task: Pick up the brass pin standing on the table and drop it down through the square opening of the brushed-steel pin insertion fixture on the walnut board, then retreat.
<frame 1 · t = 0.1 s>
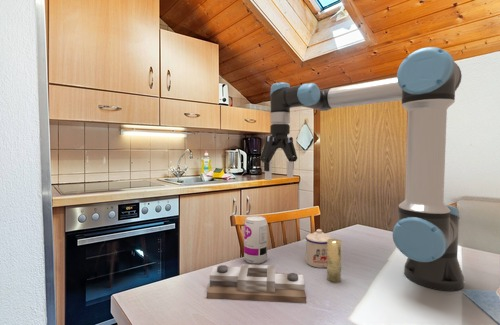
hand: (279, 178, 107), 28 cm above the table, fingers open, 13 cm apart
supplement can: (255, 260, 97), on the table
pin insertion fixture: (257, 287, 78), on the table
brass pin: (333, 279, 83), on the table
teacup with lid: (322, 262, 95), on the table
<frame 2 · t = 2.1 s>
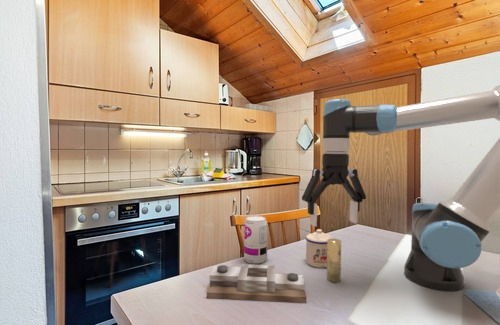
hand: (333, 223, 82), 17 cm above the table, fingers open, 13 cm apart
nothing on the table moved.
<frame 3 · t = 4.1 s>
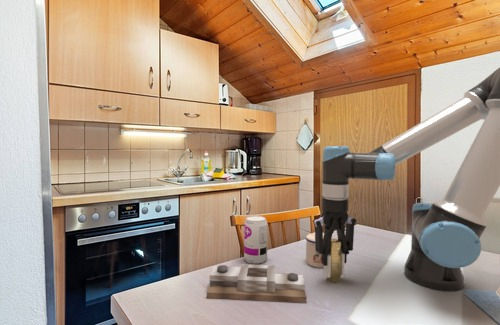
hand: (333, 274, 83), 2 cm above the table, fingers closed on brass pin, 4 cm apart
brass pin: (333, 279, 83), on the table, touching gripper
everything else where it was.
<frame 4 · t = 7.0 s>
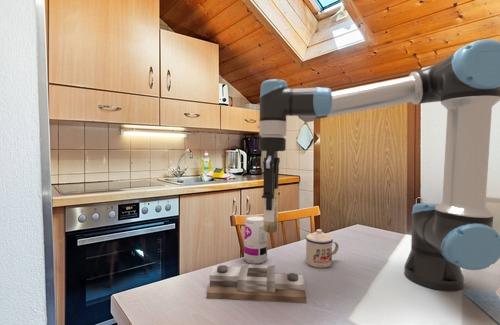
hand: (270, 219, 78), 19 cm above the table, fingers closed on brass pin, 4 cm apart
brass pin: (270, 230, 78), point 16 cm above the table, touching gripper
everything else where it was.
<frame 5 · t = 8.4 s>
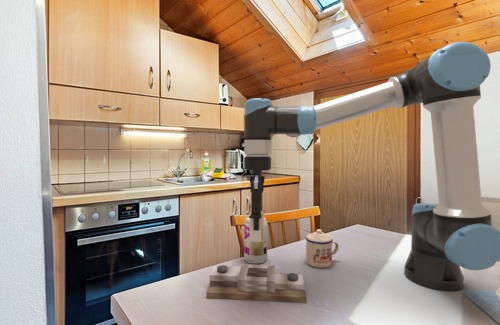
hand: (256, 238, 77), 14 cm above the table, fingers closed on brass pin, 4 cm apart
brass pin: (256, 253, 77), point 10 cm above the table, touching gripper
everything else where it was.
when the fingers open (7 cm above the table, at t = 9.9 s): brass pin stays where it is, resting on pin insertion fixture.
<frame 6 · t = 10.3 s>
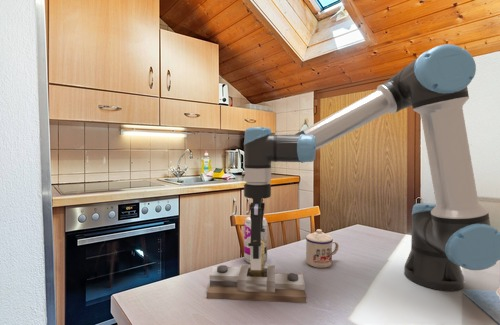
hand: (257, 261, 77), 8 cm above the table, fingers open, 10 cm apart
brass pin: (257, 282, 78), point 2 cm above the table, touching pin insertion fixture
everything else where it was.
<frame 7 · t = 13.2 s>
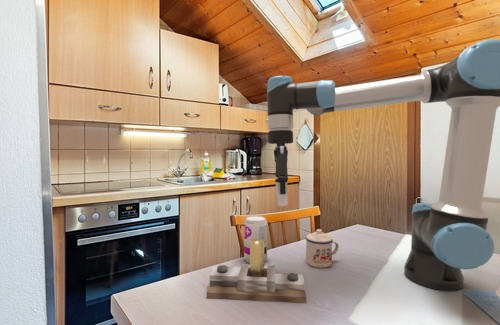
hand: (281, 201, 82), 24 cm above the table, fingers open, 13 cm apart
nothing on the table moved.
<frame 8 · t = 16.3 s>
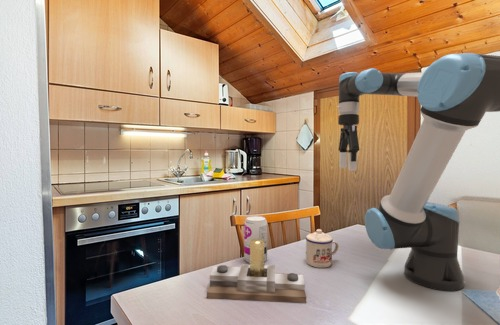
hand: (347, 169, 107), 32 cm above the table, fingers open, 13 cm apart
nothing on the table moved.
at the end: brass pin 0.0 cm from the pin insertion fixture (horizontally); brass pin point 1.5 cm above the table; brass pin tilted 0° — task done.
